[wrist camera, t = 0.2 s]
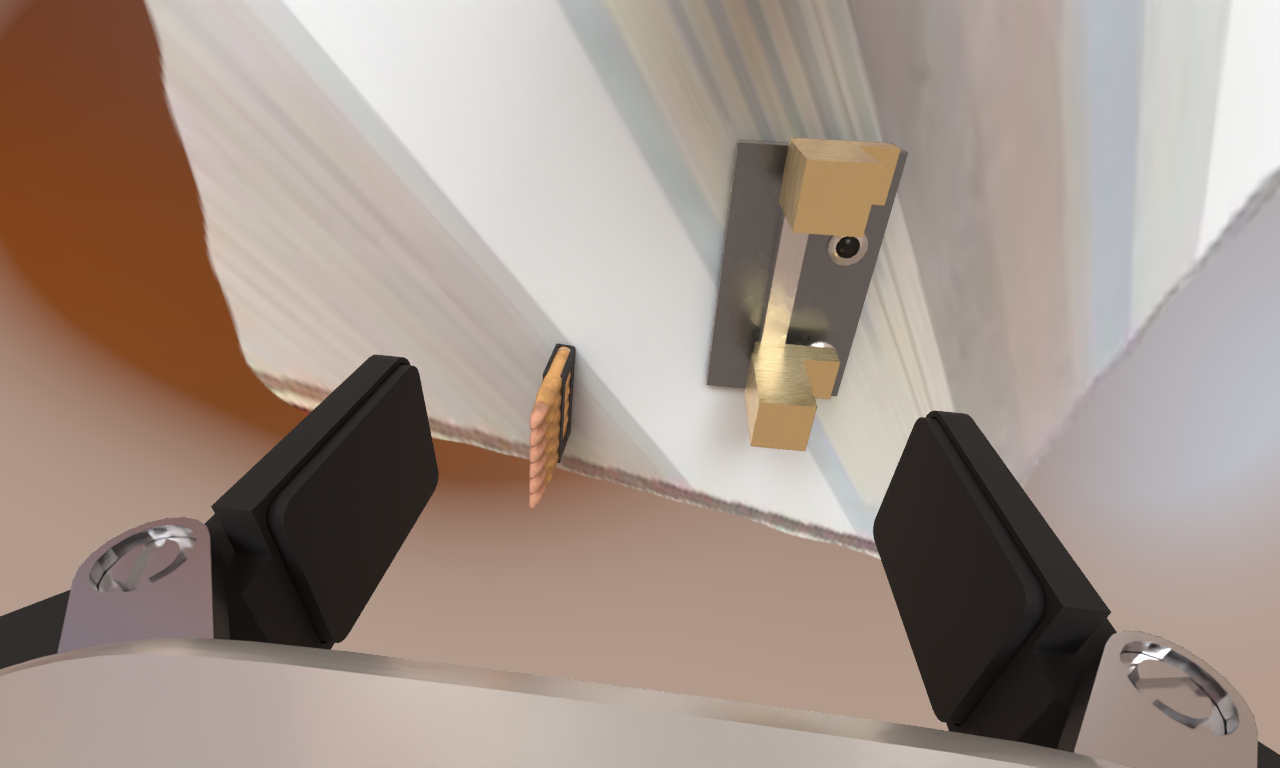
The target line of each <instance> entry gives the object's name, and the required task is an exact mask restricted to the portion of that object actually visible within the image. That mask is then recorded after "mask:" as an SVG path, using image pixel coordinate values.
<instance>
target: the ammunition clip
mask: <svg viewBox="0 0 1280 768" xmlns="http://www.w3.org/2000/svg"><path fill="white" fill-rule="evenodd" d="M574 363H575V347H574V346H569V345H562V344H556V346H555V348H554V350H553V353H552V355H551V357H550V359H549V362H548V364H547V366H546V368H545V370H544V373H543V382H542V384H541V386H540V389H539V391H538V393H537V397H536V402H535V405H534V408H533V410H532V413H531V417H530V428H531V434H530V446H531V449H530V462H531V464H530V487H529V490H530V499H529V504H530V505H529V506H530V509H533V508H535V507H536V506H537V504H538V503H539V502H540V500H541V498H542V496H543V494H544V492H545V489H546V487H547V485H548V483H549V481H550V480H551V478H552V476H553V473H554V471H555V468H556V465H557V463H560V460H561V457H562V454H563V452H564V449H565V446H566V443H567V440H568V437H569V435H570V429H571V412H572V396H573V380H574Z"/></svg>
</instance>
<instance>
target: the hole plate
mask: <svg viewBox="0 0 1280 768" xmlns="http://www.w3.org/2000/svg"><path fill="white" fill-rule="evenodd" d="M788 146H789V143H783V142H767V141H750V140H737V145H736V153H735V161H734V169H733V176H732V184H731V192H730V200H729V207H728V215H727V223H726V231H725V238H724V246H723V254H722V262H721V269H720V277H719V285H718V293H717V300H716V308H715V316H714V324H713V331H712V339H711V347H710V355H709V363H708V370H707V385H717V386H728V387H739V388H746V389H745V401H746V410H747V419H748V428H749V436H750V445H751V446H755V447H766V448H776V449H787V450H797V451H805V450H806V446H807V442H808V439H809V435H810V431H811V428H812V424H813V420H814V417H815V413H816V409H817V405H816V402H815V399H814V398H822V399H830V397H831V396H837V393H838V389H839V386H840V383H841V379H842V376H843V372H844V369H845V366H846V362H847V359H848V355H849V352H850V349H851V345H852V342H853V338H854V335H855V331H856V328H857V325H858V321H859V318H860V314H861V311H862V308H863V304H864V301H865V297H866V294H867V291H868V287H869V284H870V280H871V277H872V273H873V270H874V267H875V263H876V260H877V256H878V253H879V250H880V246H881V243H882V239H883V236H884V233H885V229H886V226H887V222H888V219H889V215H890V212H891V209H892V205H893V202H894V198H895V195H896V192H897V188H898V185H899V181H900V178H901V175H902V171H903V168H904V164H905V161H906V157H907V154H908V152H906V151H904V150H900V153H899V157H898V160H897V164H896V167H895V171H894V174H893V178H892V181H891V185H890V188H889V192H888V195H887V199H886V202H885V206H884V205H872V206H871V209H870V213H869V217H868V220H867V224H866V228H865V231H864V235H863V237H849V236H835V235H820V234H806V233H793V232H792V230H791V228H790V225H789V223H788V221H787V219H786V217H785V214H784V212H783V210H782V208H781V206H780V203H779V197H780V191H781V186H782V180H783V174H784V169H785V163H786V158H787V152H788Z"/></svg>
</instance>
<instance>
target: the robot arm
mask: <svg viewBox="0 0 1280 768" xmlns="http://www.w3.org/2000/svg"><path fill="white" fill-rule="evenodd" d="M437 482H438V467H437V462H436V458H435V452H434V448H433V442H432V437H431V432H430V427H429V422H428V416H427V411H426V406H425V401H424V396H423V391H422V386H421V381H420V376H419V372H418V369H417V368H416V367H415V366H411V365H410V363H409V361H408V360H407V359H406V358H404V357H394V356H384V355H373V356H371V357H369V358H368V359H367V360H366V361H365V362H364V363H363V364H362V365H361V366H360V367H359V368H358V369H357V370H356V371H355V372H353V373H352V374H351V375H350V376H349V377H348V378H347V379H346V380H345V381H344V382H343V383H342V384H341V385H340V386H339V387H338V388H336V389H335V390H334V391H333V392H332V393H331V394H330V395H329V396H328V397H327V398H326V399H325V400H324V401H323V402H322V403H321V404H319V405H318V406H317V407H316V408H315V409H314V410H313V411H312V412H311V413H310V414H309V415H308V416H307V417H306V418H305V419H304V420H303V421H301V422H300V423H299V424H298V425H297V426H296V427H295V428H294V429H293V430H292V431H291V432H290V433H289V434H288V435H287V436H285V437H284V438H283V439H282V440H281V441H280V442H279V443H278V444H277V445H276V446H275V447H274V448H273V449H272V450H271V451H270V452H269V453H267V454H266V455H265V456H264V457H263V458H262V459H261V460H260V461H259V462H258V463H257V464H256V465H255V466H254V467H252V469H250V470H249V471H248V472H247V473H246V474H245V475H244V476H243V477H242V478H241V479H240V480H239V481H238V482H237V483H236V484H234V486H232V487H231V488H230V489H229V490H228V491H227V492H226V493H225V494H224V495H223V496H222V497H221V498H220V499H219V500H218V501H216V502H215V504H213V505H212V506H211V507H212V509H213V510H214V512H215V514H214V516H212V517H211V518H210V519H209V520H208V521H207V522H206V523H205V524H203V523H202V522H200V521H199V520H197V519H192V518H186V517H177V518H176V517H175V518H165V519H160V520H156V521H152V522H148V523H145V524H143V525H140V526H137V527H135V528H132V529H129V530H127V531H125V532H123V533H121V534H120V535H118V536H116V537H114V538H113V539H111V540H109V541H107V542H106V543H105V544H103V545H102V546H101V547H99V548H98V549H97V550H96V551H94V552H93V553H92V554H90V556H89V557H88V558H87V559H86V560H85V561H84V562H83V563H82V564H81V566H80V567H79V568H78V570H77V572H76V575H75V577H74V579H73V581H72V586H71V590H69V591H66V592H64V593H61V594H58V595H55V596H53V597H50V598H48V599H45V600H43V601H40V602H37V603H35V604H32V605H29V606H27V607H24V608H21V609H19V610H16V611H14V612H11V613H8V614H6V615H3V616H0V768H1280V755H1279V754H1277V753H1276V752H1274V751H1272V750H1271V749H1270V748H1268V747H1266V746H1265V745H1263V744H1262V743H1260V742H1259V741H1258V731H1257V726H1256V722H1255V718H1254V715H1253V713H1252V712H1251V710H1250V708H1249V707H1248V705H1247V703H1246V702H1245V700H1244V698H1243V697H1242V696H1241V695H1240V694H1239V692H1238V691H1237V690H1236V689H1235V688H1234V687H1233V686H1232V685H1231V683H1230V682H1229V681H1228V680H1227V679H1226V678H1225V677H1224V676H1222V675H1221V674H1220V673H1219V672H1217V671H1216V670H1215V669H1214V668H1213V667H1212V666H1210V665H1209V664H1208V663H1207V662H1205V661H1204V660H1203V659H1201V658H1199V657H1198V656H1196V655H1195V654H1193V653H1192V652H1190V651H1188V650H1187V649H1185V648H1184V647H1182V646H1180V645H1178V644H1175V643H1173V642H1171V641H1169V640H1167V639H1165V638H1162V637H1160V636H1156V635H1152V634H1149V633H1145V632H1142V631H1125V630H1124V631H1121V632H1119V633H1117V632H1116V631H1115V629H1114V628H1113V626H1112V625H1111V623H1110V622H1109V621H1108V619H1107V617H1108V615H1109V614H1110V613H1111V611H1110V610H1109V609H1108V607H1107V606H1106V604H1105V603H1104V602H1103V601H1102V599H1101V597H1100V596H1099V595H1098V593H1097V592H1096V591H1095V589H1094V588H1093V586H1092V585H1091V584H1090V582H1089V581H1088V579H1087V578H1086V577H1085V575H1084V574H1083V573H1082V571H1081V570H1080V568H1079V567H1078V566H1077V564H1076V563H1075V561H1074V560H1073V558H1072V557H1071V556H1070V554H1069V553H1068V551H1067V550H1066V549H1065V547H1064V546H1063V545H1062V543H1061V542H1060V540H1059V539H1058V538H1057V536H1056V535H1055V534H1054V532H1053V531H1052V529H1051V528H1050V526H1049V525H1048V524H1047V522H1046V521H1045V519H1044V518H1043V517H1042V515H1041V514H1040V512H1039V511H1038V510H1037V508H1036V507H1035V506H1034V504H1033V503H1032V501H1031V500H1030V499H1029V497H1028V496H1027V494H1026V493H1025V492H1024V490H1023V489H1022V487H1021V486H1020V485H1019V483H1018V482H1017V480H1016V479H1015V478H1014V476H1013V475H1012V473H1011V472H1010V471H1009V469H1008V468H1007V466H1006V465H1005V464H1004V462H1003V461H1002V459H1001V458H1000V457H999V455H998V454H997V453H996V451H995V450H994V448H993V447H992V446H991V444H990V443H989V441H988V440H987V439H986V437H985V436H984V434H983V433H982V432H981V430H980V429H979V427H978V426H977V425H976V423H975V422H974V420H973V419H972V418H971V417H970V416H969V415H967V414H963V413H953V412H943V411H931V412H930V413H929V414H928V415H927V416H926V418H923V417H921V418H919V419H918V420H917V421H916V423H915V424H914V427H913V429H912V432H911V434H910V436H909V439H908V441H907V444H906V446H905V449H904V451H903V453H902V456H901V458H900V461H899V463H898V465H897V468H896V470H895V473H894V475H893V477H892V480H891V482H890V485H889V487H888V490H887V492H886V494H885V497H884V499H883V502H882V504H881V506H880V509H879V511H878V514H877V516H876V518H875V522H874V527H873V534H874V540H875V543H876V546H877V549H878V552H879V555H880V558H881V561H882V564H883V567H884V569H885V572H886V575H887V578H888V581H889V584H890V587H891V590H892V592H893V595H894V598H895V601H896V604H897V607H898V610H899V613H900V616H901V618H902V621H903V624H904V627H905V630H906V632H907V636H908V639H909V642H910V645H911V648H912V650H913V653H914V656H915V659H916V662H917V665H918V668H919V671H920V673H921V677H922V680H923V682H924V685H925V688H926V691H927V694H928V697H929V700H930V703H931V706H932V709H933V711H934V713H935V715H936V716H937V718H938V719H939V720H940V721H941V722H946V723H947V726H948V729H949V731H944V730H937V729H930V728H924V727H917V726H911V725H904V724H897V723H890V722H883V721H875V720H867V719H860V718H853V717H846V716H838V715H831V714H824V713H817V712H809V711H802V710H794V709H787V708H780V707H772V706H765V705H758V704H751V703H743V702H736V701H728V700H721V699H714V698H705V697H698V696H690V695H682V694H676V693H668V692H661V691H653V690H645V689H638V688H630V687H623V686H615V685H607V684H600V683H592V682H584V681H577V680H569V679H561V678H554V677H546V676H538V675H531V674H522V673H515V672H507V671H499V670H491V669H483V668H475V667H467V666H459V665H451V664H443V663H436V662H428V661H419V660H412V659H404V658H396V657H388V656H379V655H372V654H364V653H355V652H347V651H338V650H330V649H331V648H332V646H333V645H334V643H339V642H342V641H343V640H344V639H345V638H346V637H347V635H348V634H349V632H350V631H351V629H352V627H353V626H354V624H355V622H356V621H357V619H358V617H359V616H360V614H361V612H362V611H363V609H364V607H365V605H366V604H367V602H368V601H369V599H370V597H371V596H372V594H373V592H374V591H375V589H376V587H377V586H378V584H379V582H380V581H381V579H382V577H383V576H384V574H385V572H386V571H387V569H388V567H389V566H390V564H391V562H392V561H393V559H394V557H395V556H396V554H397V552H398V551H399V549H400V547H401V546H402V544H403V542H404V540H405V539H406V537H407V536H408V534H409V532H410V531H411V529H412V527H413V526H414V524H415V522H416V521H417V519H418V517H419V516H420V514H421V512H422V511H423V509H424V507H425V506H426V504H427V502H428V501H429V499H430V497H431V496H432V494H433V492H434V490H435V489H436V486H437Z"/></svg>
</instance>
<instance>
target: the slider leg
mask: <svg viewBox="0 0 1280 768" xmlns="http://www.w3.org/2000/svg"><path fill="white" fill-rule="evenodd" d="M900 150H901V148H899V147H897V146H895V145H894V144H892V143H877V142H860V141H844V140H827V139H810V138H793V139H790V141H789V146H788V152H787V158H786V163H785V169H784V174H783V180H782V186H781V191H780V197H779V203H780V206H781V208H782V210H783V212H784V214H785V217H786V219H787V221H788V223H789V225H790V228H791V230H792V232H793V233H806V234H820V235H835V236H849V237H863V235H864V231H865V228H866V224H867V220H868V217H869V213H870V209H871V206H872V205H884V206H885V202H886V199H887V195H888V192H889V188H890V185H891V181H892V178H893V174H894V171H895V167H896V164H897V160H898V157H899V153H900Z"/></svg>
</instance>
